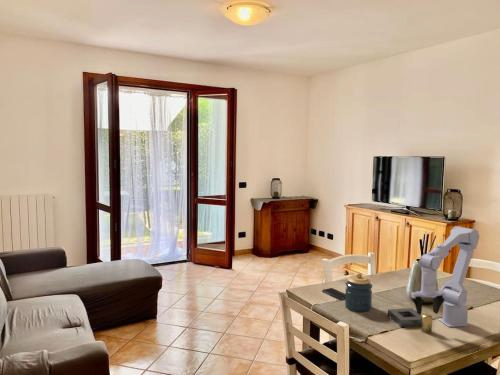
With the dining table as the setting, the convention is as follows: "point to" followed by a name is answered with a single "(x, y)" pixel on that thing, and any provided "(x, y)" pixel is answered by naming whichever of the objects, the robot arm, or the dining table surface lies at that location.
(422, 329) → the piston
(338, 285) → the dining table surface
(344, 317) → the dining table surface
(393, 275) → the dining table surface
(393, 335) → the dining table surface
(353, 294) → the canister
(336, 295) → the phone
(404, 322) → the grey square socket block
